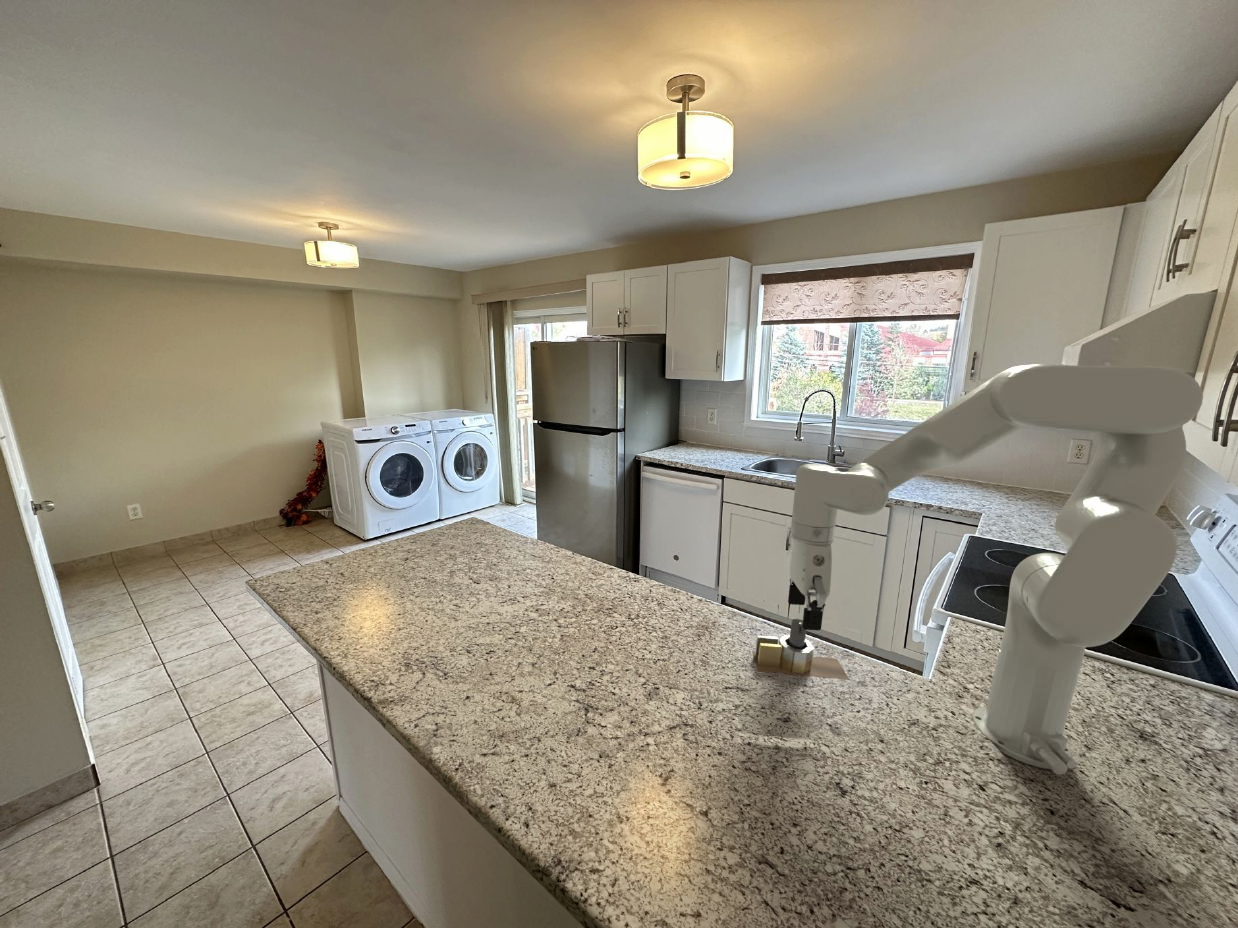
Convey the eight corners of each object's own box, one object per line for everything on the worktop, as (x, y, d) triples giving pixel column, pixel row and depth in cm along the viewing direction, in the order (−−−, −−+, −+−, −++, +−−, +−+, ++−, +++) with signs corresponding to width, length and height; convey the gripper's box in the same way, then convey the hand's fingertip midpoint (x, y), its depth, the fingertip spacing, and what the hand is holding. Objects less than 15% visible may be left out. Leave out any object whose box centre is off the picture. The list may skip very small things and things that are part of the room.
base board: (848, 682, 91) (849, 679, 90) (757, 674, 92) (758, 670, 92) (836, 662, 97) (836, 658, 97) (751, 654, 98) (751, 651, 98)
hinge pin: (803, 669, 93) (809, 627, 91) (788, 668, 93) (794, 625, 91) (799, 660, 96) (804, 619, 94) (784, 659, 96) (790, 618, 94)
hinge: (813, 674, 91) (817, 653, 90) (759, 669, 92) (762, 648, 91) (804, 656, 97) (807, 636, 96) (753, 651, 98) (755, 631, 97)
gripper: (851, 548, 80) (840, 641, 83) (817, 518, 97) (809, 596, 100) (805, 546, 81) (796, 639, 84) (780, 516, 98) (772, 594, 101)
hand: (803, 615), depth 92 cm, fingers open, 9 cm apart
